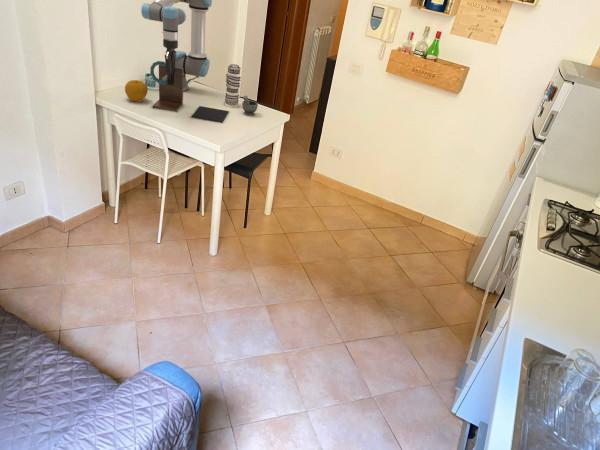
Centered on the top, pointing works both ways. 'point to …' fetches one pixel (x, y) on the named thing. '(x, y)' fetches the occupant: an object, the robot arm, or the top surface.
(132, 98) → the apple
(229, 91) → the decorative candle
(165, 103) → the hook board
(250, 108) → the mortar and pestle
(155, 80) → the ring
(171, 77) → the robot arm
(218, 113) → the mat
